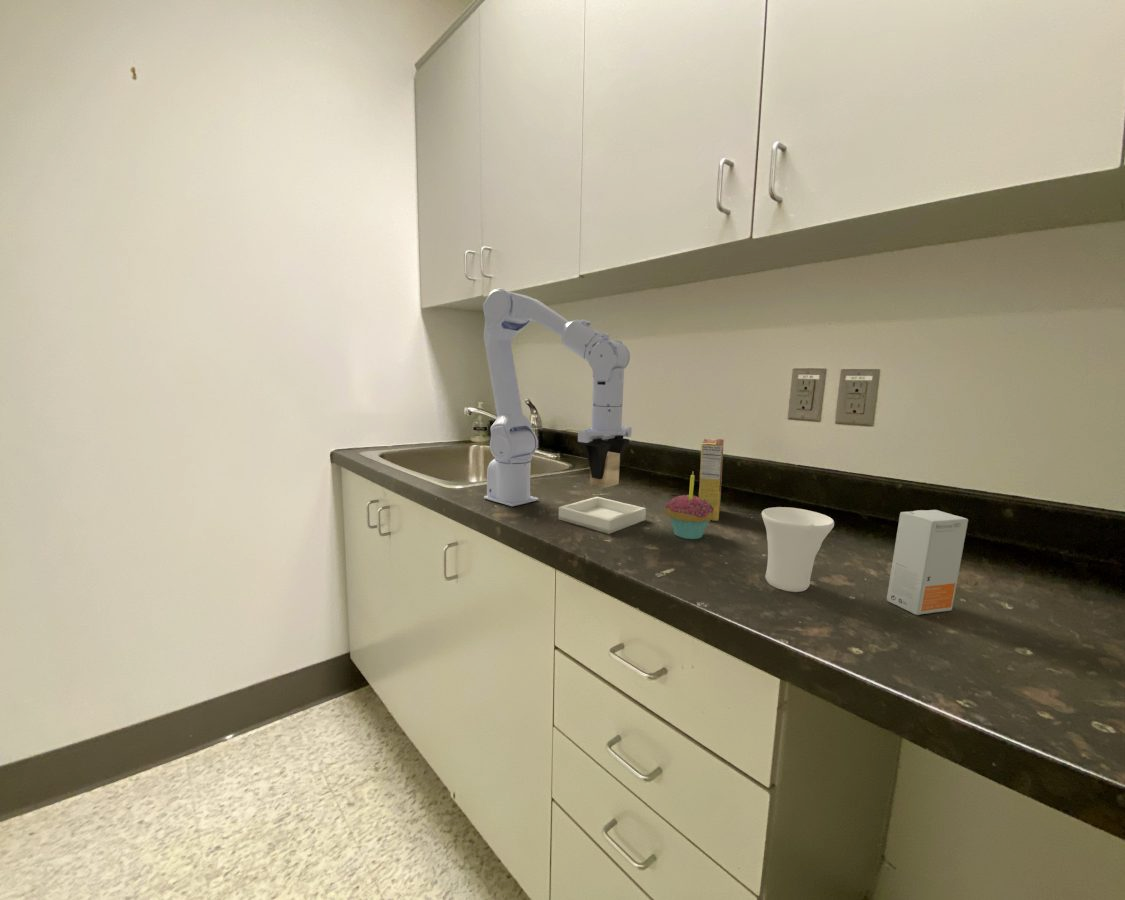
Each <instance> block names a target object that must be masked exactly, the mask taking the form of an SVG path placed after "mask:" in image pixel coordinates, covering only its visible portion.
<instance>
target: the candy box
mask: <svg viewBox="0 0 1125 900" xmlns="http://www.w3.org/2000/svg"><path fill="white" fill-rule="evenodd" d="M724 443H725V441H724V439H720V438H719V439H718V438H704V439H703V441H702V443H701V446H700V450H701V451H700V464H699V465H700V466H699V467H700V469H699V483H698V485H699V486H698V487H699V489H698V497H699V498H702V499H703V500H704V499H705V500H706V501H708V502H709V503H710V504H711V505H712V507H714V510H713V511H714V518H713V519H711V520H712V521H713V522H719V518H720V513H721V499H722V497H721V496H722V495H721V494H722V481H723V479H722V478H723V477H722V476H723V460H724ZM711 520H710V521H711Z"/></svg>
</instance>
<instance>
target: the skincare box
mask: <svg viewBox="0 0 1125 900" xmlns="http://www.w3.org/2000/svg"><path fill="white" fill-rule="evenodd" d="M968 523H969V519H968V518H966V517H963V516H959V515H954V514H952V513H948V512H945V511H941V510H938V509H929V510H925V509H924V510H923V509H920V510H919V509H917V510H913V511H912V510H911V511H900V513H899V517H898V526H897V530H896V531H897V532H896V537H895V544H894V550H893V557H892V563H891V570H890V576H889V581H888V587H887V594H886V595H887V596H886V601H887V602H889V603H891V604H893V605H895V606H897V607H899V608H901V609H903V610H906V611H907V612H910V613H911V614H913V615H915V616H920V615H924V614H932V613H941V612H950V611H952V610H953V607H954V601H955V595H956V588H957V584H958V583H957V582H958V578H959V572H960V568H961V561H962V557H963V550H964V543H965V539H966V534H967V529H968Z"/></svg>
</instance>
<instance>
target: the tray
mask: <svg viewBox="0 0 1125 900" xmlns="http://www.w3.org/2000/svg"><path fill="white" fill-rule="evenodd" d="M646 511H647V507H642V506H638V505H634V504H629V503H626V502H621V501H617V500H613V499H609V498H604V497H600V496H594V497H591V498H587V499H583V500H580V501H577V502H573V503H569V504H568V503H567V504H565V505H562V506H559V507H558V519H557V520H559V521H562V522H566V523H570V524H573V525H576V526H581V527H585V528H588V529H589V530H594V531H597V532H600V533H605V534H606V535H607V534H608V535H611V534H613V533H615V532H617V531H620V530H623V529H626V528H629V527H630V526H633V525H636V524H638V523H642V522H644V521H646V514H647V513H646Z"/></svg>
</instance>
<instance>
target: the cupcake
mask: <svg viewBox="0 0 1125 900" xmlns="http://www.w3.org/2000/svg"><path fill="white" fill-rule="evenodd" d="M691 473H692V474H691V475H690V479H689V492H688V494H682V495H678V496H675V497H673V498H671V499H669V500H668V501H667V502H666V504H665V505H664V514H665V515H667V516H668V517H669V518H670V521H671V524H672V527H673V531H674V535H676V536H677V537H679V538H682V539H687V540H698V539H701V538H702V537H703V535H704V532H705V530H706V528H707V526H708V523H709V522H710V521H711V519H713V518H714V511H713V510H714V507H712V505H711V504H710V503H709V502H708V501H706V500H705V499H704V500H703V499H702V498H699V496H696V495H694V486H695V478H696V477H695V476H696V475H694V471H693V470H692V472H691Z"/></svg>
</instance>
